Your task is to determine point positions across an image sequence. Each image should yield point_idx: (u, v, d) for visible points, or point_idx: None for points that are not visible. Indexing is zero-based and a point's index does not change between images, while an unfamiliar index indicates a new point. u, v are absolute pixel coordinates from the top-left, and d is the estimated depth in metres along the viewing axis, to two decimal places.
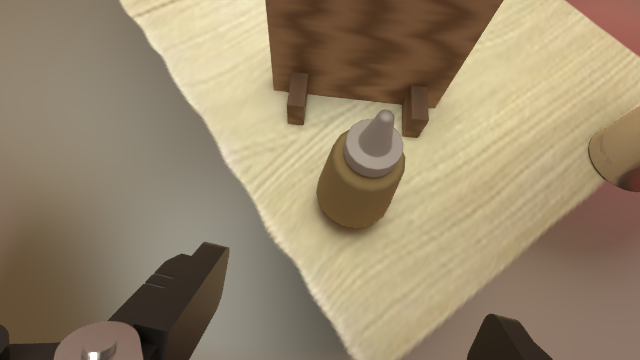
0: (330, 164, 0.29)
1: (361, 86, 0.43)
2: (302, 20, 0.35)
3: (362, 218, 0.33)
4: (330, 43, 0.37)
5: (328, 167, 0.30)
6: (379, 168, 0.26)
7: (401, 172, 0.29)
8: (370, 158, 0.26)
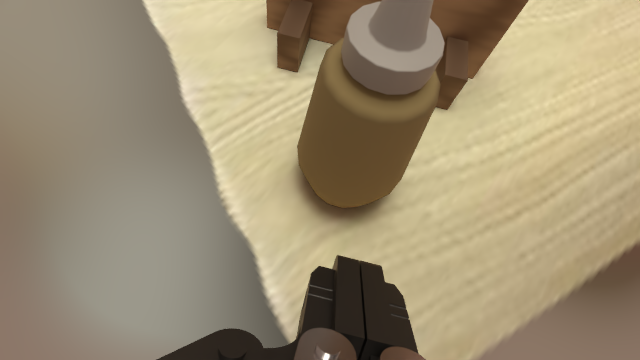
0: (318, 78, 0.18)
1: None
2: None
3: (359, 185, 0.21)
4: None
5: (315, 87, 0.19)
6: (400, 69, 0.14)
7: (432, 102, 0.17)
8: (386, 51, 0.15)
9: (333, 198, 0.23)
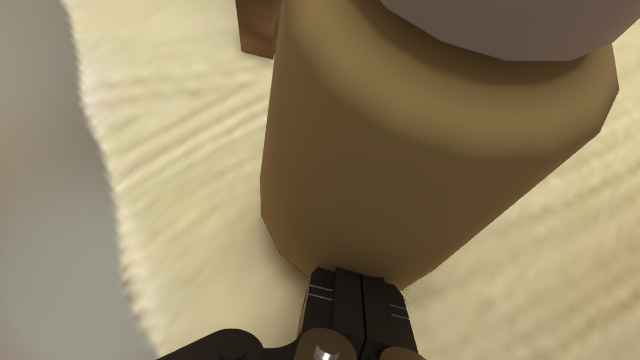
0: (280, 28, 0.07)
1: None
2: None
3: (381, 274, 0.10)
4: None
5: (276, 55, 0.07)
6: None
7: (612, 91, 0.06)
8: None
9: None
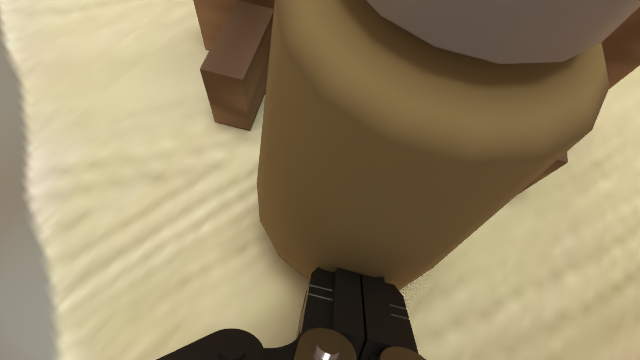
0: (273, 35, 0.07)
1: None
2: None
3: (382, 274, 0.10)
4: None
5: (270, 62, 0.07)
6: None
7: (603, 87, 0.06)
8: None
9: None
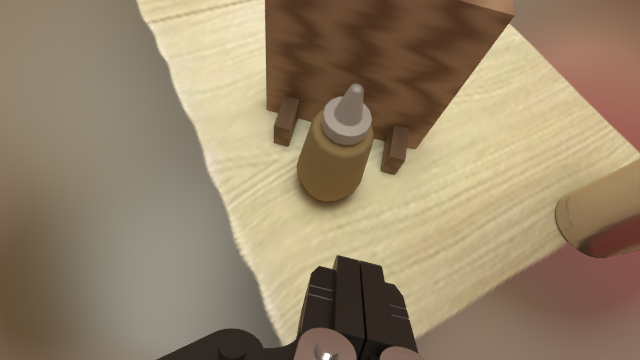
0: (309, 133, 0.34)
1: None
2: (297, 51, 0.37)
3: (334, 188, 0.37)
4: (321, 75, 0.40)
5: (307, 137, 0.35)
6: (349, 135, 0.30)
7: (369, 145, 0.33)
8: (342, 126, 0.31)
9: (319, 196, 0.39)
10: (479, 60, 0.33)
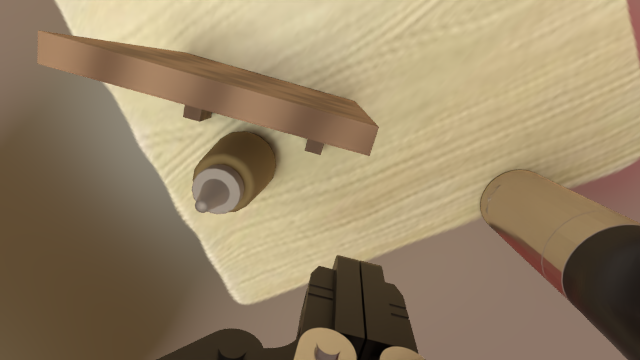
0: None
1: None
2: None
3: None
4: None
5: None
6: (217, 213, 0.32)
7: (249, 199, 0.35)
8: None
9: None
10: None
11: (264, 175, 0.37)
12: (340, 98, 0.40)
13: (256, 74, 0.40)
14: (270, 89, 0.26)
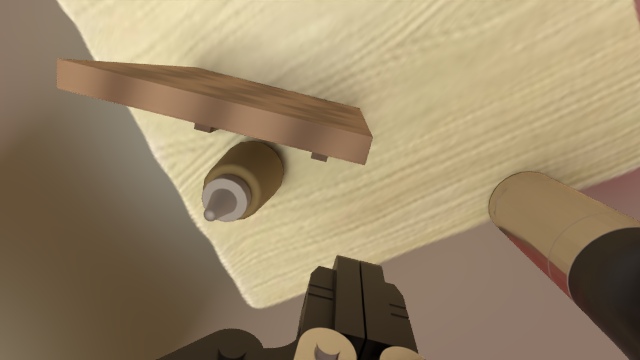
0: None
1: None
2: None
3: None
4: None
5: None
6: (226, 221, 0.34)
7: (257, 207, 0.36)
8: None
9: None
10: None
11: (271, 183, 0.38)
12: (344, 106, 0.41)
13: (262, 86, 0.41)
14: (271, 103, 0.27)
